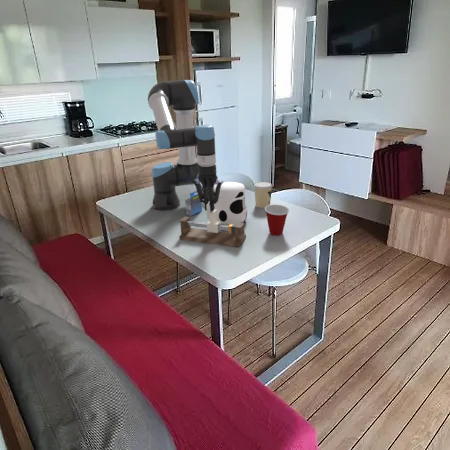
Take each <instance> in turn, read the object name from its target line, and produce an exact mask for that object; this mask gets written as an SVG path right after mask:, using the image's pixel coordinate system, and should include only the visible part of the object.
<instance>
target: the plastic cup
mask: <svg viewBox="0 0 450 450" xmlns="http://www.w3.org/2000/svg"><path fill="white" fill-rule="evenodd" d="M264 210H265V214H266V219H267V226H268V232H269V234H270V235H271V236H276V237H279V236H281V235H282V234H283V233H284V230H285V229H284V228H285V225H286V220H287V216H288V214H289V212H290V209H289V207H287V206H284V205H282V204H270V205H268V206H266V207H265V208H264Z"/></svg>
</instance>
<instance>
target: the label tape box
mask: <svg viewBox="0 0 450 450" xmlns="http://www.w3.org/2000/svg"><path fill="white" fill-rule="evenodd" d="M189 196H190V197H189V198H186V199H185V214H187V216H189V215H190V216H189V217H192V215H193V216H194V215H196V214H198V213H200V212H202V211H203V207H202V206H203V205H202V203H203V202H200V199H199V196H198V193H197V190H194V191H192V192H190V193H189Z"/></svg>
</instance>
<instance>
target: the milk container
mask: <svg viewBox="0 0 450 450" xmlns="http://www.w3.org/2000/svg"><path fill="white" fill-rule="evenodd" d="M216 186H217V185H216V184H214V196H215V191H216ZM214 209H216V210H217V219H218V220H217V221H221V225H228V226H229V225H230V224H231V223H232V224H234V223H237V224H238V223H244V222H245V221H246V220H247V217H248V207H247V205H246V187H245V185H244V184H243V183H241V182H238V181H237V182H236V181H224V182H223V184H222V185H221V188H220V194H219V199H218V202H217V203H215V204H214Z"/></svg>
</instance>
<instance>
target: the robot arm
mask: <svg viewBox="0 0 450 450" xmlns="http://www.w3.org/2000/svg"><path fill="white" fill-rule="evenodd" d="M196 85H197V84H196V83H195V81H193V80H192V79H178V80H177V79H176V80H164V81H163V80H162V81H160V82H159V81H158V83H155V84H154V85H153V86H152V87H151V89H150V90H149V92H148V94H147V103H148V107H149V108H150V109H151V110H152V113H153V116H154V120H155V123H156V128H157V131H155V133H154V134H155V143H156V148H157V149H158V150H170V149H172V150H173V149H178V156H179V157H178V158H177V160H176V164H174V163H173V162H172V161H168V162H161V163H157V164H155V165H154V166H153V167H152V168H151V177H152V185H153V191H154V192H153V193H154V194H153V197H152V207H154V208H153V209H155V210H157V209H159V211H167V210H168V209H169V210H173V209H176V208H178V207H180V206H181V200H180V198H179V195H178V193H177V191H176V187H182V186H189V185H190V186H191V185H194V186H195V188H196V191H197V193H196V194H198V196H199V199H200V202H202V203H203V204H204V211H206V218H207V220H210V218H209V213H210V212H211V211H214V204H215V203H217V202H218V199H219V194H220V188H221V185H222V184H223V180H220V179H218V176H217V165H216V163H217V160H216V158H217V157H216V141H215V140H216V134H215V127H214V125H211V124H200V125H196V126H195V125H194V113H193V112H194V111H195V110H196V105H198V104H199V101H200V100H199V92H198V88H197V86H196ZM170 107H172V111H173V112H174V113H175V118H176V124H175V121H174V118H173V116H172V113H171V112H172V111H171V110H170ZM214 185H217V186H216V191H215V196H214ZM169 210H168V211H169Z"/></svg>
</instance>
